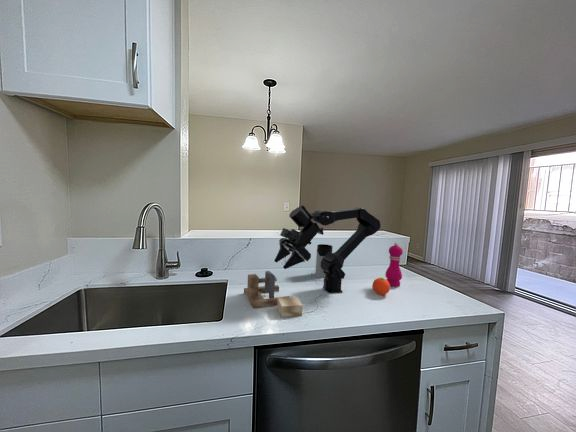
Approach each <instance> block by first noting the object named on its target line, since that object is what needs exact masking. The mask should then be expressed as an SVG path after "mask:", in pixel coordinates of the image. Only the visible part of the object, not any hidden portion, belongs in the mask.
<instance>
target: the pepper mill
mask: <svg viewBox="0 0 576 432" xmlns="http://www.w3.org/2000/svg"><path fill="white" fill-rule="evenodd" d="M403 251H404V250H403V247H401V246H399V243H398V242H397V241H396V242H394V245H391V246H389V248H388V253H389V266H388V267H387V268H386V271H385V274H384V276H385V279H386V280H387V281H388V282H389V284H390V287H393V286H395V287H394V288H398V286H399V287H400V286H401V280H402V278H403V273H402V269H401V268H400V267H401V266H400V261H401V260H402V255H403V253H404V252H403Z"/></svg>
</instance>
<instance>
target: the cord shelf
mask: <svg viewBox="0 0 576 432" xmlns="http://www.w3.org/2000/svg"><path fill="white" fill-rule="evenodd" d="M277 280H278V279H277V277H276V276H275V282H277ZM265 282H270V279H269V278H265V277H262V278H261V277H259V275H257V274H256V273H253V274H252V273H251V274H247V287H244V288H243V294H244V296H245V297H246V299H247V301H248V302H249V304H250V305H251V306H252V309H258V308H266V307H272V306H277V300H278V298H280V297H281V296H278V297H277V296H276V297H274V298H269V297H268V298H264V296H263V294H265V285H263V286H259V284H262V283H264V284H265ZM277 292H280V286H279V285H278V284H275V289H274V293H277ZM283 297H291V296H290V295H286V296H283Z"/></svg>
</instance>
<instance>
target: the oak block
mask: <svg viewBox="0 0 576 432" xmlns="http://www.w3.org/2000/svg"><path fill="white" fill-rule="evenodd" d="M279 297H280V298H278V300H277V305H276V308H277V311H278V313H279V315H280V317H281V318H283V317H300V316H303V307H304V306H303V304H302V302H301V301H300V299H299V297H298V296H290V297H284V296H279Z"/></svg>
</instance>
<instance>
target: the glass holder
mask: <svg viewBox="0 0 576 432" xmlns="http://www.w3.org/2000/svg"><path fill="white" fill-rule="evenodd" d="M316 247H317V249H316V257H315V259H316V260H315V272H314V273H313V274H314V276H315V277H317V278H321V279H324V278H325V275H326V274H324V272H323V270H322V268H321V261H322V259H323V257H324V256H326V254H327V253H328V252H331V253H333V249H334V248H333V245H332V244H324V243H323V244H321V243H320V244H319V243H318V244H317V246H316Z"/></svg>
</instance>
